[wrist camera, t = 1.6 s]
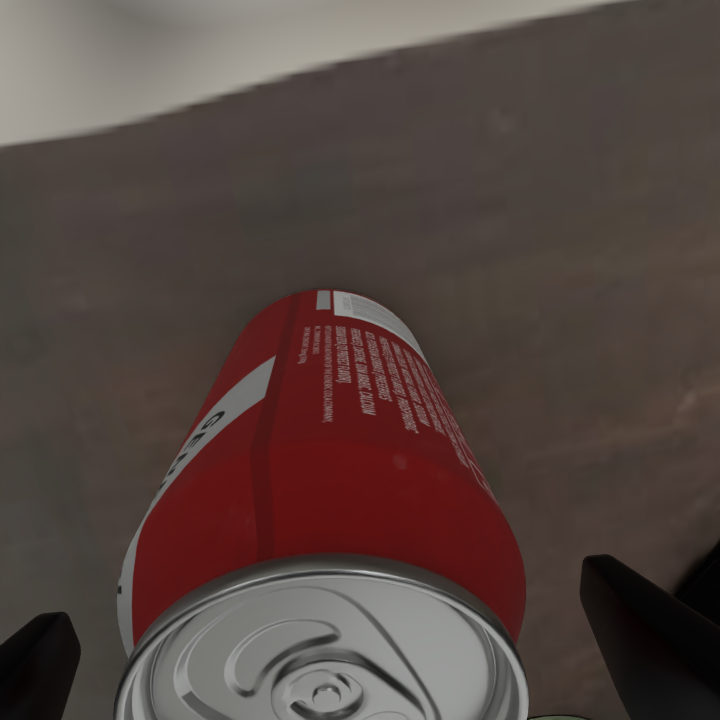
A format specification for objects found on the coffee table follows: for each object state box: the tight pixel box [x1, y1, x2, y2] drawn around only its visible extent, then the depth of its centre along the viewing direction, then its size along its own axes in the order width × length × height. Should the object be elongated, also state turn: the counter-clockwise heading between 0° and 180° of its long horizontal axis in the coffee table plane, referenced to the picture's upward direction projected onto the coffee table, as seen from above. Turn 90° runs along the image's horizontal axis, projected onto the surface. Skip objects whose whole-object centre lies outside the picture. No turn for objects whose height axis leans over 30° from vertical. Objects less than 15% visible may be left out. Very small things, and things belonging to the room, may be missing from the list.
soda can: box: [113, 288, 529, 720], centre depth 12 cm, size 7×7×12 cm
